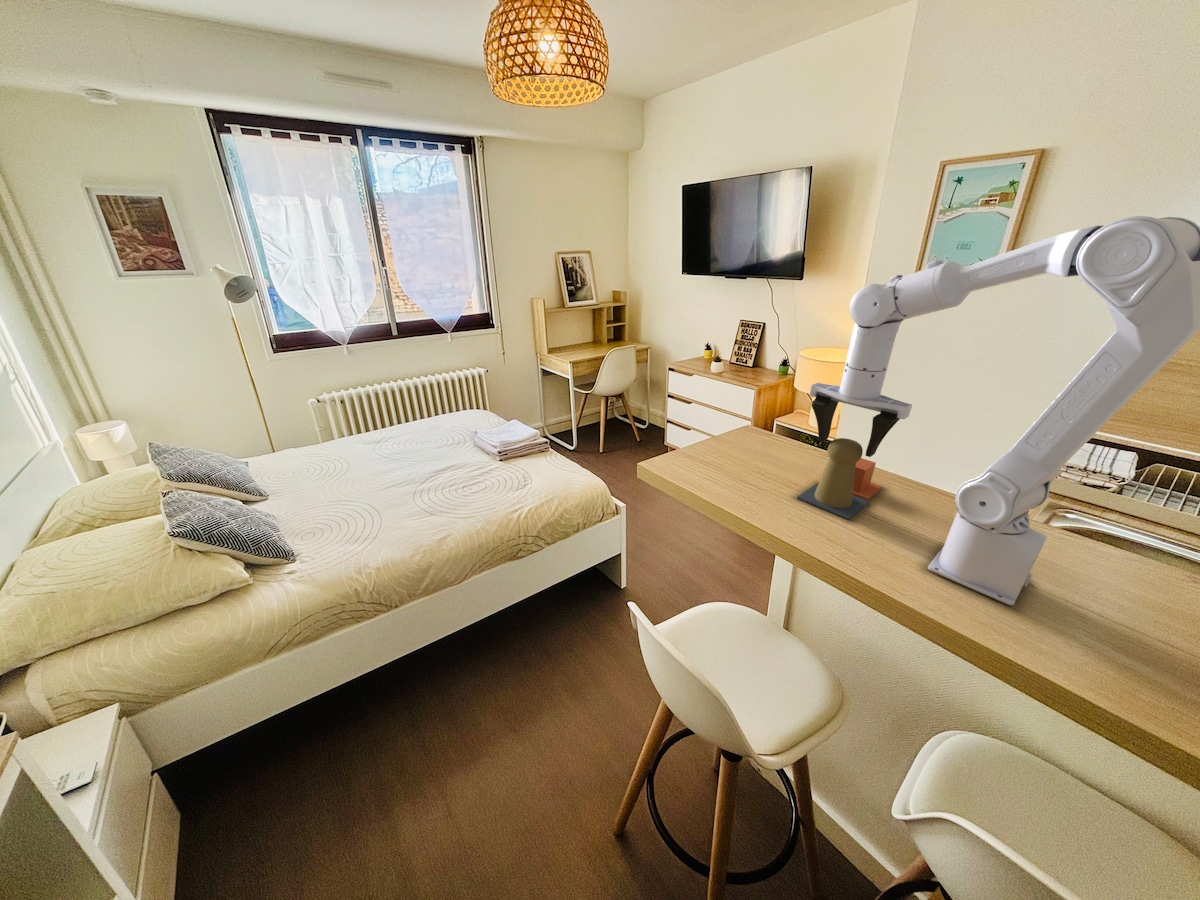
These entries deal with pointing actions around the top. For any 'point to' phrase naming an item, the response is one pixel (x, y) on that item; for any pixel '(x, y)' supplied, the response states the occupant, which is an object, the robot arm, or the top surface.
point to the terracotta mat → (868, 491)
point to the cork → (839, 473)
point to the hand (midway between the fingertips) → (845, 447)
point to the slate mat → (842, 512)
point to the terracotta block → (863, 474)
